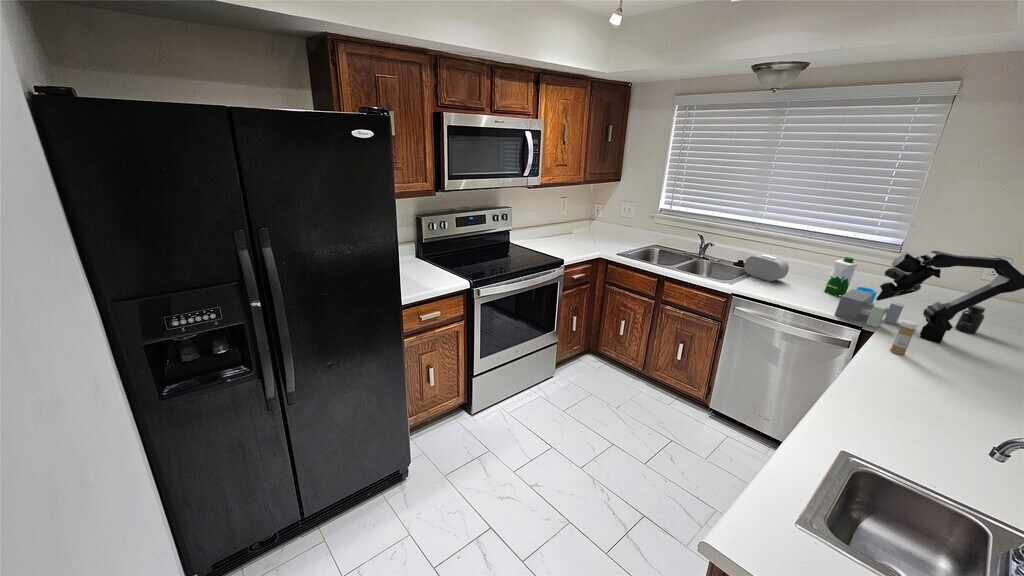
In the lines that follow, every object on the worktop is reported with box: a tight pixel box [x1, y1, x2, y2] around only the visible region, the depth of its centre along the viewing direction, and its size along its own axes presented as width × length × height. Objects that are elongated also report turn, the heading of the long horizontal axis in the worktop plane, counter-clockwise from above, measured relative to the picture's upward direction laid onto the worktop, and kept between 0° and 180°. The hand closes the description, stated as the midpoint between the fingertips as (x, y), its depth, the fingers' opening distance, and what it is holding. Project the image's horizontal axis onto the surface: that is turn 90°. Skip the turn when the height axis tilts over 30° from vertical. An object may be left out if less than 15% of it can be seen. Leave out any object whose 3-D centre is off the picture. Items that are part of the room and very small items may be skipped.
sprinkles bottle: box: [889, 319, 919, 356], centre depth 161 cm, size 5×5×14 cm
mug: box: [856, 286, 878, 304], centre depth 211 cm, size 12×8×8 cm
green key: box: [859, 303, 888, 328], centre depth 190 cm, size 14×5×9 cm, turn 38°
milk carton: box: [823, 256, 858, 297], centre depth 222 cm, size 9×9×20 cm
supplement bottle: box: [955, 304, 986, 335], centre depth 184 cm, size 7×7×12 cm
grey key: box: [866, 301, 905, 325], centre depth 195 cm, size 16×5×9 cm, turn 38°
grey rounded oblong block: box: [743, 254, 790, 282], centre depth 242 cm, size 21×10×13 cm, turn 32°
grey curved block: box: [834, 288, 873, 323], centre depth 197 cm, size 8×18×10 cm, turn 128°
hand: (883, 298), depth 186 cm, fingers open, 9 cm apart
